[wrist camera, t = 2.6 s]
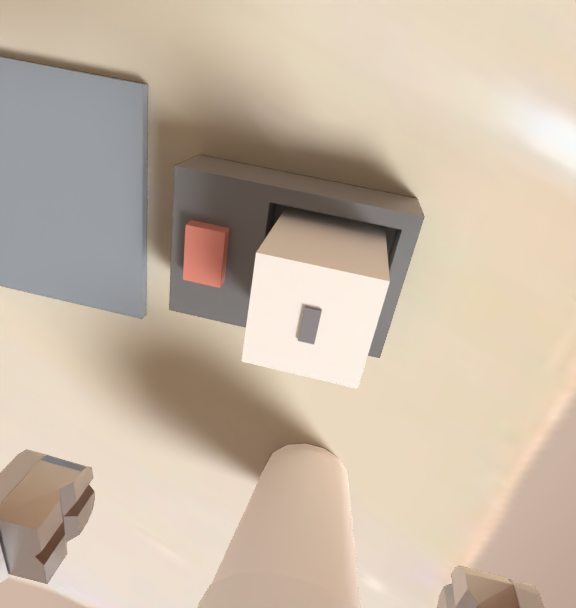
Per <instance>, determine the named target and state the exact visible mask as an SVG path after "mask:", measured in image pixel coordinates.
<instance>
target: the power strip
mask: <svg viewBox="0 0 576 608" xmlns="http://www.w3.org/2000/svg"><path fill="white" fill-rule="evenodd" d="M287 206H288V207H292V208H297V209H302V210H307V211H312V212H317V213H321V214H326V215H331V216H336V217H341V218H346V219H350V220H355V221H360V222H365V223H370V224H374V225H379V226H384V227H385V232H386V243H387V254H388V265H389V276H390V283H389V286H388V290H387V293H386V296H385V300H384V303H383V306H382V310H381V313H380V316H379V320H378V323H377V326H376V330H375V333H374V336H373V340H372V343H371V346H370V350H369V353H368V356H373V357H377V358H380V356H381V352H382V349H383V346H384V343H385V340H386V337H387V333H388V330H389V327H390V324H391V321H392V318H393V314H394V311H395V308H396V305H397V302H398V299H399V296H400V292H401V289H402V286H403V283H404V280H405V277H406V273H407V270H408V267H409V264H410V261H411V258H412V254H413V251H414V248H415V245H416V242H417V239H418V235H419V232H420V229H421V226H422V223H423V220H424V214H423V212H422V209H421V206H420V204H419V201H418V199H417V198H412V197H407V196H402V195H397V194H392V193H387V192H382V191H377V190H372V189H368V188H363V187H358V186H353V185H348V184H343V183H338V182H333V181H328V180H323V179H318V178H313V177H308V176H303V175H298V174H293V173H288V172H283V171H278V170H273V169H268V168H263V167H258V166H253V165H248V164H243V163H238V162H233V161H228V160H223V159H218V158H213V157H208V156H203V155H198V156H195V157H193V158H191V159H189V160H186V161H184V162H182V163H179V164H177V165H175V166H174V191H173V218H172V246H171V273H170V301H169V310H172V311H176V312H181V313H185V314H189V315H194V316H198V317H203V318H207V319H211V320H216V321H220V322H224V323H229V324H233V325H237V326H242V327H246V324H247V316H248V309H249V301H250V294H251V286H252V279H253V272H254V264H255V257H256V252H257V250H258V249H259V247H260V246H261V244H262V243H263V241H264V240H265V238H266V237H267V235H268V234H269V232H270V231H271V229H272V228H273V226H274V225H275V223H276V222H277V220H278V219H279V217H280V216H281V214H282V213H283V211H284V210H285V208H286V207H287Z"/></svg>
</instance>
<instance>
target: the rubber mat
mask: <svg viewBox="0 0 576 608" xmlns="http://www.w3.org/2000/svg"><path fill="white" fill-rule="evenodd" d="M147 138H148V84H143V83H138V82H133V81H127V80H122V79H117V78H112V77H106V76H101V75H96V74H91V73H85V72H80V71H75V70H70V69H65V68H59V67H54V66H49V65H44V64H38V63H33V62H28V61H23V60H17V59H12V58H7V57H2V56H0V286H2V287H7V288H11V289H15V290H20V291H24V292H28V293H33V294H37V295H41V296H46V297H50V298H54V299H58V300H63V301H67V302H71V303H76V304H80V305H84V306H89V307H93V308H97V309H102V310H106V311H110V312H115V313H119V314H123V315H127V316H132V317H136V318H140V319H142V318H143V317H144V316H145V315H146V265H147Z"/></svg>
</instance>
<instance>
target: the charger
mask: <svg viewBox="0 0 576 608" xmlns="http://www.w3.org/2000/svg"><path fill="white" fill-rule="evenodd" d="M389 283H390V276H389V265H388V254H387V243H386V232H385V227H384V226H379V225H374V224H370V223H365V222H360V221H355V220H350V219H346V218H341V217H336V216H331V215H326V214H321V213H317V212H312V211H307V210H302V209H297V208H292V207H288V206H287V207H286V208H285V210H284V211H283V213H282V214H281V216H280V217H279V219H278V220H277V222H276V223H275V225H274V226H273V228H272V229H271V231H270V232H269V234H268V235H267V237H266V238H265V240H264V241H263V243H262V244H261V246H260V247H259V249H258V250H257V252H256V257H255V264H254V272H253V279H252V286H251V294H250V301H249V309H248V316H247V324H246V331H245V338H244V346H243V353H242V362H246V363H250V364H254V365H259V366H263V367H267V368H271V369H275V370H280V371H284V372H288V373H292V374H297V375H301V376H305V377H309V378H314V379H318V380H322V381H326V382H331V383H335V384H339V385H343V386H348V387H352V388H356V389H358V386H359V383H360V380H361V376H362V373H363V370H364V366H365V363H366V360H367V356H368V353H369V350H370V346H371V343H372V340H373V336H374V333H375V330H376V326H377V323H378V320H379V316H380V313H381V310H382V306H383V303H384V300H385V296H386V293H387V290H388V286H389Z"/></svg>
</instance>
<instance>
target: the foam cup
mask: <svg viewBox="0 0 576 608" xmlns="http://www.w3.org/2000/svg"><path fill="white" fill-rule="evenodd" d="M198 608H361V602H360V592H359V582H358V572H357V562H356V553H355V543H354V533H353V523H352V513H351V503H350V493H349V483H348V478H347V471H346V469H345V467H344V466H343V464H342V463H341V461H340V459H339V458H338V457H336V456H335V455H333V454H332V453H330V452H329V451H327V450H326V449H324V448H321V447H317V446H313V445H309V444H306V443H304V444H292V445H286V446H284V447H282V448H280V449H278V450H277V451H275V452H273V453H272V455H271V457H270V459H269V460H268V462H267V464H266V466H265V468H264V470H263V472H262V474H261V476H260V478H259V481H258V483H257V485H256V487H255V489H254V492H253V494H252V496H251V498H250V501H249V503H248V505H247V507H246V509H245V512H244V514H243V516H242V518H241V520H240V523H239V525H238V527H237V529H236V531H235V534H234V536H233V538H232V540H231V542H230V545H229V547H228V549H227V551H226V553H225V556H224V558H223V560H222V562H221V564H220V567H219V569H218V571H217V573H216V575H215V578H214V580H213V582H212V584H210V586H209V588H208V589H207V591H206V593H205V594H204V596H203V597H202V599H201V601H200V602H199V605H198Z"/></svg>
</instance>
